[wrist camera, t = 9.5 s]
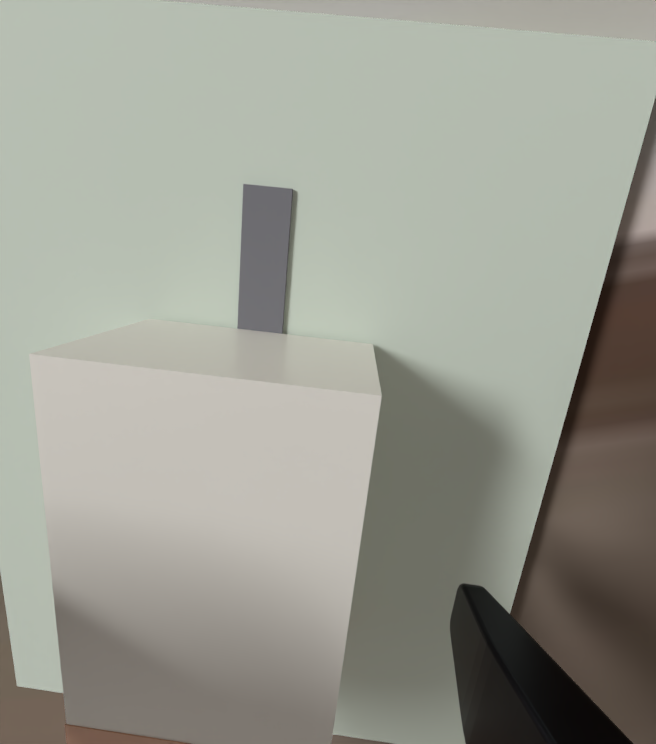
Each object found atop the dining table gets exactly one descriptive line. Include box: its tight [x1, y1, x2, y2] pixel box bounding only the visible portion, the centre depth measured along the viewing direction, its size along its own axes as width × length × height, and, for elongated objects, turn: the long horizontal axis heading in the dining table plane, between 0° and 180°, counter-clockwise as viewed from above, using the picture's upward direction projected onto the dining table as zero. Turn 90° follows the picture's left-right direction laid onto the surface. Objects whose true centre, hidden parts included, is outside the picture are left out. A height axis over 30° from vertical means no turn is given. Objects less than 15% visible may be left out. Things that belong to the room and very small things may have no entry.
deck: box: [29, 319, 382, 744], centre depth 8 cm, size 5×8×4 cm, turn 174°
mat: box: [0, 0, 656, 744], centre depth 10 cm, size 18×14×1 cm
